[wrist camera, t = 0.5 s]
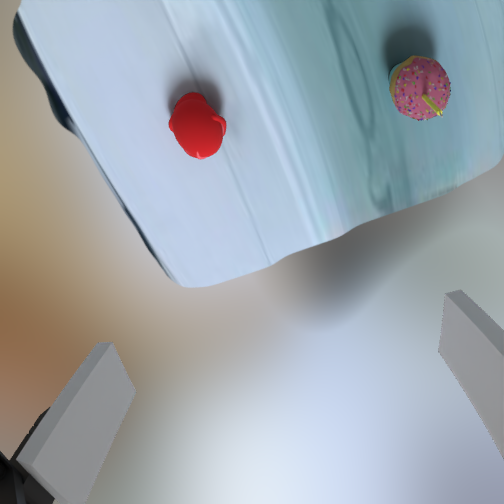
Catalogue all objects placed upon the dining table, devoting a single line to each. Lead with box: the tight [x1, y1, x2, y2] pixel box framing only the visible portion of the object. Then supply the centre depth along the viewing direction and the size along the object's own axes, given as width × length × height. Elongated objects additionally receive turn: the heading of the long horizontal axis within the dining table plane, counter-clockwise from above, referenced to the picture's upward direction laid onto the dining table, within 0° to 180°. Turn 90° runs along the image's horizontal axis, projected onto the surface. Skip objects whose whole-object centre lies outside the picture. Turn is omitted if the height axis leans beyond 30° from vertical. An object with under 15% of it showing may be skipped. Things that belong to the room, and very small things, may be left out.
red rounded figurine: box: [169, 92, 226, 159], centre depth 35 cm, size 8×6×6 cm
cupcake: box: [389, 56, 451, 121], centre depth 30 cm, size 9×8×12 cm
